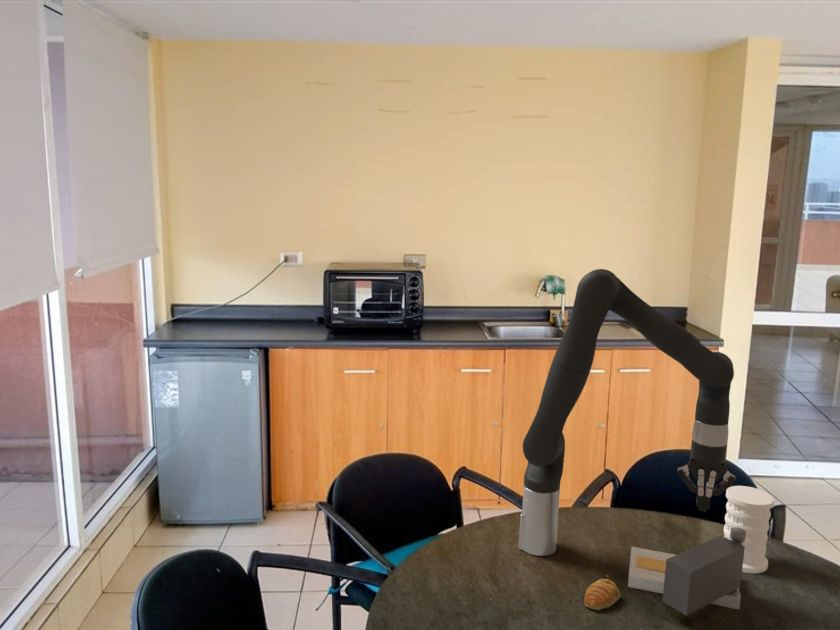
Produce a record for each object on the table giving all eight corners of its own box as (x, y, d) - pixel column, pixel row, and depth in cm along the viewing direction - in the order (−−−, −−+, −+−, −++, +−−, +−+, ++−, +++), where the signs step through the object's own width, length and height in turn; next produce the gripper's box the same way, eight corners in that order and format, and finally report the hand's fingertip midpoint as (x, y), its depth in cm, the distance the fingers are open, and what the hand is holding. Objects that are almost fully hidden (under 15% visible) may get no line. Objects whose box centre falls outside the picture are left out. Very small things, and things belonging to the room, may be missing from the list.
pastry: (603, 617, 145) (604, 601, 145) (575, 605, 150) (576, 589, 149) (622, 598, 152) (623, 583, 152) (595, 587, 157) (596, 572, 156)
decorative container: (756, 579, 161) (765, 510, 158) (709, 559, 170) (716, 493, 166) (775, 562, 169) (783, 496, 166) (729, 544, 177) (736, 481, 174)
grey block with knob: (686, 615, 141) (691, 563, 138) (662, 601, 146) (667, 550, 143) (749, 582, 153) (754, 534, 151) (725, 570, 158) (730, 523, 156)
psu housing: (627, 586, 157) (632, 536, 154) (630, 557, 170) (634, 510, 167) (740, 609, 149) (746, 556, 146) (733, 577, 162) (739, 527, 159)
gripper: (679, 440, 151) (672, 512, 154) (743, 449, 146) (735, 522, 149) (678, 430, 157) (672, 498, 161) (739, 437, 153) (732, 507, 156)
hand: (702, 509), depth 155 cm, fingers closed
